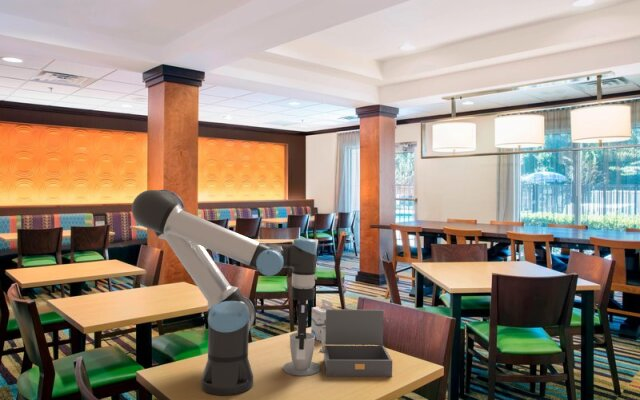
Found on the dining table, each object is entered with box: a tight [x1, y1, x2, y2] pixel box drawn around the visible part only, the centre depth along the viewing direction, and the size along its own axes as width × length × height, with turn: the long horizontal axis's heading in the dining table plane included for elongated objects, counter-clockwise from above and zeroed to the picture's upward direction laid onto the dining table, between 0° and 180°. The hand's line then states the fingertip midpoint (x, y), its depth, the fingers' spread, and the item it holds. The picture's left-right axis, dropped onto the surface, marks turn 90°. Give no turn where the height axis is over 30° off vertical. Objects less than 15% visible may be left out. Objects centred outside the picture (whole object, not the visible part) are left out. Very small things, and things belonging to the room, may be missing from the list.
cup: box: [289, 332, 316, 370], centre depth 153 cm, size 8×8×10 cm
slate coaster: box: [282, 360, 321, 377], centre depth 152 cm, size 12×12×1 cm
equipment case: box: [321, 308, 393, 378], centre depth 154 cm, size 22×16×17 cm
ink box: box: [310, 298, 334, 343], centre depth 185 cm, size 9×5×15 cm, turn 30°
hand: (300, 351), depth 152 cm, fingers open, 13 cm apart
